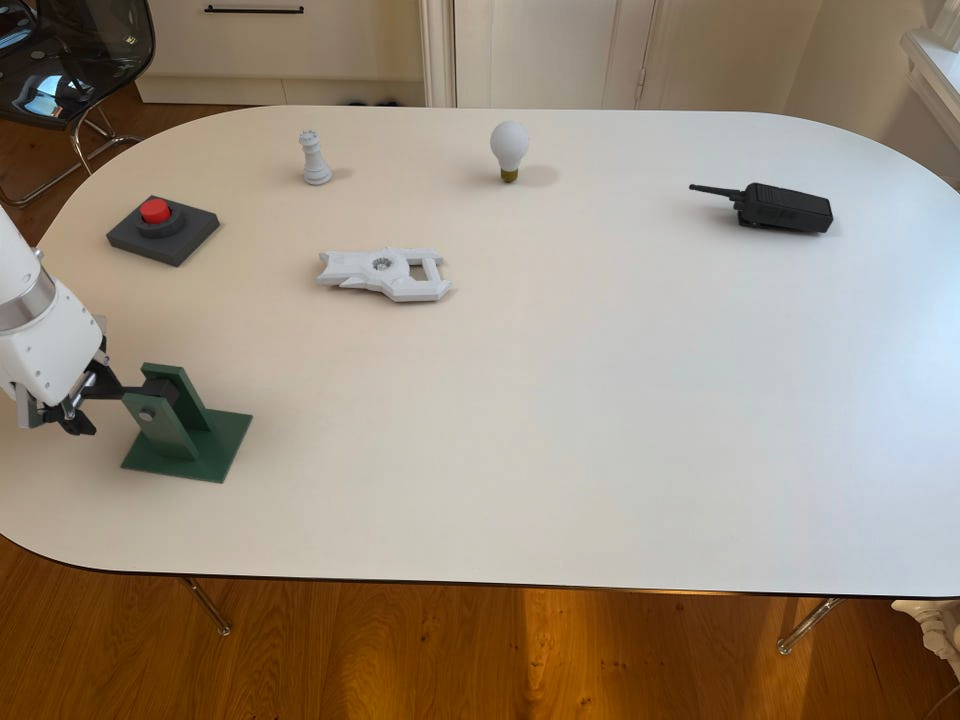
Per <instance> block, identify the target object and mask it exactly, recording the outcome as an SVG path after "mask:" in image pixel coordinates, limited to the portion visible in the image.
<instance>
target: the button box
mask: <svg viewBox="0 0 960 720" xmlns="http://www.w3.org/2000/svg"><path fill="white" fill-rule="evenodd" d="M153 199H161V200H163V201H165V202H166V204H167V206H168V209H169V211H170V217H169V218H168V219H167V220H165V221H163V222H160V223H157V224H148V223H147V222H146V221H145V220H144V218H143V216H142V214H141V212H140V208H141V206H142V205H143V204H144V203H145V202H147V201H149V200H153ZM220 226H221V223H220V220H219V218H218V215H217V213H215V212H211V211H208V210H205V209H201V208H198V207H195V206H191V205H188V204H184V203H180V202H177V201H174V200H172V199H171V200H170V199H167V198H163V197H160V196H156V195H153V194H150V196H149V197H147V198H146V199H145V200H143V202H142V203H140V204H139V205H138V206H137V207H136V208H135V209H134V210H132V211H131V212H130V213H128V214H127V216H125V217H124V218H123V219H122V220H121V221H119V223H117V224H116V225H115V226H114V227H113V228H112V229H110V231H108V232H107V233H106V234H105V237H106V239H107V240H108V242H109V244H110V246H111V247H112V248H115V249H119V250H121V251H125V252H128V253H131V254H133V255H137V256H140V257H142V258H147V259H150V260H153V261H154V262H155V261H156V262H159V263H162V264H164V265H168V266H170V267H174V268H179V267H180V266H181V265H182V264H183V263H184V262H185V261H186V260H187V259H188V258H190V256H191V255H192V254H193V253H194V252H195V251H196V250H197V249H198V248H199V247H200V246H201V245H202V244H203V243H204V242H205V241H206V240H208V238H209V237H210V236H211V235H212V234H213V233H214V232H215V231H216V230H217V229H218V228H219V227H220Z"/></svg>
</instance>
